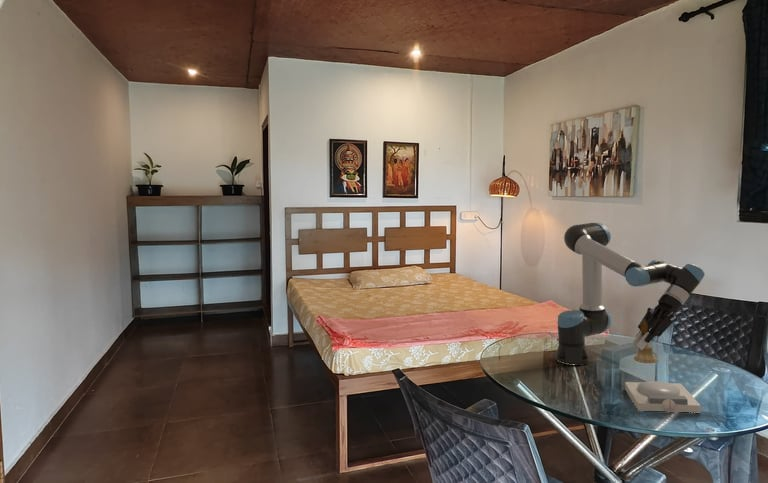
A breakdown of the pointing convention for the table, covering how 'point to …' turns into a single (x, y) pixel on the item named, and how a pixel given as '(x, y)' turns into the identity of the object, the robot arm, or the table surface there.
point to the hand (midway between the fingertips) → (636, 346)
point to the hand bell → (647, 352)
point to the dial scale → (661, 397)
